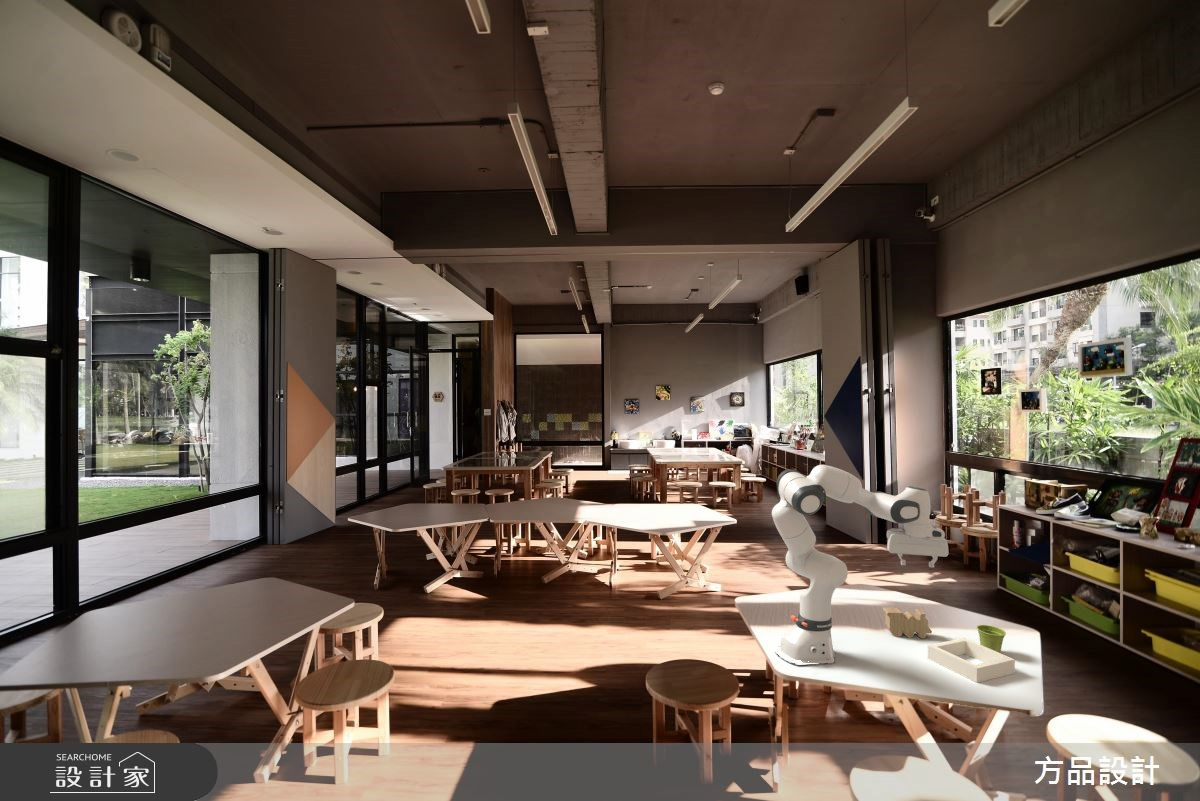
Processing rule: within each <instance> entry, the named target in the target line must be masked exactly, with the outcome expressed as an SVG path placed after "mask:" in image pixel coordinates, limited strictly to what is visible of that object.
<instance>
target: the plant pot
mask: <svg viewBox="0 0 1200 801" xmlns="http://www.w3.org/2000/svg"><path fill="white" fill-rule="evenodd" d="M976 629H977V632H978V636H979V642H980V643H979V644H980V645H982V646H984V647H987V648H989V649H991V650H994V651H996V652H998V653H1001V652H1002V645H1003V641H1004V638H1005V637H1006V635H1007V632H1006V631H1005V630H1003V629H1002V628H1000V627H998V626H997V627H996V626H993V625H988V624H979V625H976ZM1001 654H1002V653H1001Z"/></svg>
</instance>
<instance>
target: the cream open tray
mask: <svg viewBox="0 0 1200 801" xmlns="http://www.w3.org/2000/svg"><path fill="white" fill-rule="evenodd" d="M961 655H967V656H969V657H972V658H974V659H975V660H978V661H980V662H982V663H977V664H975V663H972V662H971V661H969V660H966V659H964V658H961V657H960V656H961ZM928 659H929V661H932V662H934V663H936V664H938V665H940V666H942V667H944V668H947V669H948V670H950V671H952V672H954V673H956V674H959V675H960V676H962V677H965V678H966V679H969V680H970V681H973V682H975V683H976V684H977V683H981V682H986V681H989V680H993V679H997V678H1001V677H1006V676H1010V675H1014V674H1015V667H1016V665H1015V662H1016V660H1015V659H1014V658H1012V657H1009V656H1007V655H1005V654H1002V653H998V652H996V651H994V650H991V649H989V648H987V647H984V646H982V645H980V643H977V642H974V641H972V640H970V639H968V638H966V637H961V638H957V639H951V640H947V641H943V642H942V641H941V642H938V643H932V644H928V645H927V660H928Z"/></svg>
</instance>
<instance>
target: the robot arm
mask: <svg viewBox="0 0 1200 801" xmlns="http://www.w3.org/2000/svg"><path fill="white" fill-rule="evenodd" d="M776 496H777V498H778V499H780V500H779V502H778V503H776V504H775V505H774V506H773V507H772V509H771V516H772V520H773V523H774V525H775V528H776V529H777V531H778V534H779V535H780V537H781V538H782V540H783V541H784V545H786V547H787V549H788V550H787V551H786V554H785V564H786V566H787V568H788V569H789V570H791V571H792V572H794V573H795V574H797V575H799V576H801V577H804V578H807V579H809V580H810V582H809V583H810V584H809V587H807V588H806V589H804V590H802V592H800V594H799V613H798V615H797V616H795V615H793V614H792V615H791V616H790V621H792V622H794V625H793V626H792V627H791V628H790V629H789V630H788V631H787V632H785V633H784V634H783V635H782V636H781V640H780V645H779V646H777V647H780V651H781V652H782V653H784V654H785V655H786V656H788V657H789V658H791V659H792V658H793V659H795V660H801V661H802V662H803V663H828V664H834V663H835V660H834V658H835V657H836V653H835V650H834V646H833V641H832V640H833V638H832V627H833V623H832V622H833V621H832V620H833V618H832V616H831V613H832V612H831V611H832V610H831V609H832V598H833V594H834V593H835V590H836V589H837V588H839V587H840V586H842V585H843V584H844V583H845V582H846V580H847V578H848V575H849V574H848V573H849V572H848V567H847V564H846V563H845V562H844V561H842V560H841V559H839V558H838V557H836V556H834V555H831V554H829V553H825V552H822V551H819V550H817V549H816V548H815V545H816V542H817V537H816V535H815V533H814V530H813V529H812V527H811V526H810V523H809V522H808V520H807V519H806V517H805V516H811V515H814V514H816V513H817V512H818V511H819V510H820V509H821V507H822V505H823V504H824V502H825V501H826V499H827V497H828V498H831V499H833V500H836V501H838V502H840V503H841V502H842V503H846V504H853V503H854V504H857V505H859V506H862V507H863V508H864V509H865V510H866V511H867V512H868V513H869V514H870V515H871V516H873V517H875V518H880V519H882V520H883V519H884V520H887V521H889V522H892V523H895V524H900V525H903V528H890V529H888V530H887V531H886V538H887V545H886V546H887V547H886V549H887V551H888V552H889V553H890V554H897V556H898V558H899V560H900V565H901V566H907V564H906V562H907V561H906V559H904V558H903V555H912V556H915V555H916V556H926V557H927V556H929V557H932V559H931V561H929V562H928V567H929V568H932V569H933V568H935V563H937V561H938V557H940V558H941V557H943V558H945V557H948V555H949V545H948V540H947V539H946V538H945V536H946V533H945V531H944V530H943V529H941V528H939V527H937V526H934V525H931V524H932V523H931V520H930V514H931V511H932V510H931V497H930V493H929V491H928V490H927V489H925V488H921V487H917V486H911V485H910V486H905V489H904V490H903V491H902V492H901V493H899V494H897V495H896V494H895V495H892V494H888V493H886V492H883V491H879V490H878V491H868V490H867V489H865V488H863V485H862V482H861V479H859V477H857V476H855V475H854V474H852V473H850V472H847V471H845V470H844V469H841V468H837V467H836V466H835V467H834V466H831V465H828V464H827V465H826V464H818V465H816V466H814V467H813V468H812V470H811V471H810V473H809V475H807V476H804V474H803V473H801V472H800V471H798V470H795V469H792V468H791V469H785V470H783V471H781V473H780V474H779V475H778V476H777V480H776ZM808 661H809V662H808ZM833 662H834V663H833Z"/></svg>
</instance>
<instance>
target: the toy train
mask: <svg viewBox="0 0 1200 801" xmlns="http://www.w3.org/2000/svg"><path fill="white" fill-rule="evenodd" d="M882 610H883V612H884V614H885V617H884V620H885V621H884V622H885V623H884V624H885V626H886V627H887V630H888V631H889V632H890V633H891V635H892V636H894V637H896V638H899V637H901V636H902V635H903V634H904V635H905V636H906V637H907V638H912V637H914V635H915V634H916V635H917V636H918V637H919V638H921V639H925V638H926V637H927V635H928V634H932V632H933V630H932V629H931V628H930V627H929V620H928V619H927V618H926V614H925V612H924V611H923V610H922V609H919V608H916V609H914V614H912V613H911V612H910V611H908V610H905V612H904V613H903V612H902V611H901V610H900V609H899V608H898V607H885V606H884V607H883V608H882Z"/></svg>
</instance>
